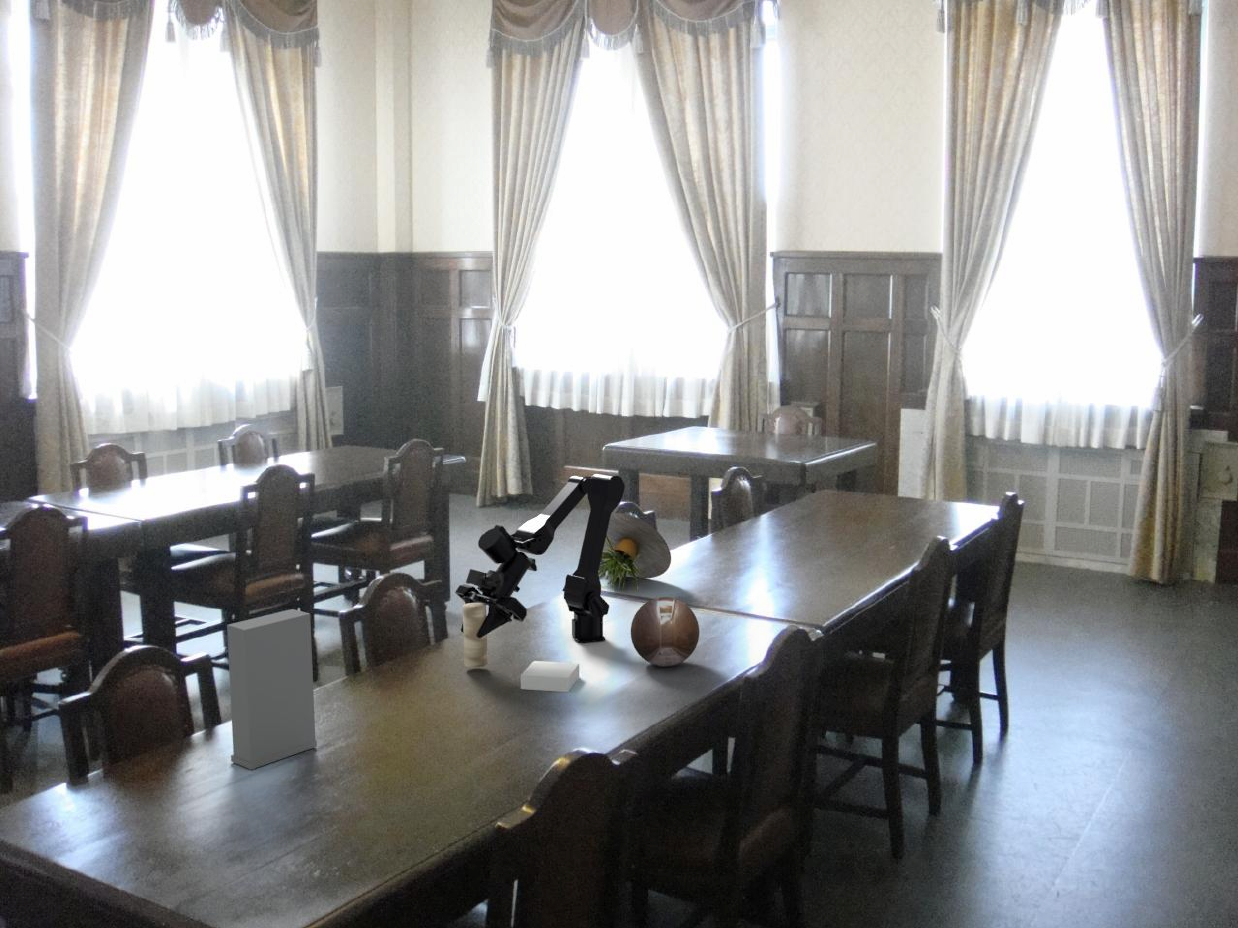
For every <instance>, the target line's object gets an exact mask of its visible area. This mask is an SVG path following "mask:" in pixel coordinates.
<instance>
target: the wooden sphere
mask: <svg viewBox="0 0 1238 928" xmlns="http://www.w3.org/2000/svg"><path fill="white" fill-rule="evenodd" d="M630 639H631V642H632V645H633V648H634V649H635V652H637V654H638V655H639V656H640V657H641V658H642V659H643V660H644V661H645V662H647V663H649V664H652V665H654V666H657V667H664V668H665V667H672V666H677V665H679V664H681V663H683V662H684V661H686V660H687V659H688V658H689V657H690V656H691V655H692V654H693V653H694V652H695V650H696V648H697V646H698V643H699V639H700V625H699V621H698V618H697V616H696V614H695V612H694V611H693V610H692V608H691V607H689V606H688V605H687V603H684V602H683V601H681V600H679V599H678V598H677V599H676V598H674V597H666V596H663V597H661V596H660V597H656V598H653V599H650V600H648V601H647V602H645V603H644V604H643V605H642V606H640V607H639V608H638V610H637V611H636V613H635V614H634V616H633V619H632V621H631V626H630Z"/></svg>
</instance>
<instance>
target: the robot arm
mask: <svg viewBox="0 0 1238 928" xmlns="http://www.w3.org/2000/svg"><path fill="white" fill-rule="evenodd" d="M625 484H626V483H625V482H624V481H623V478H622V477H621V476H619V475H614V474H609V473H603V472H597V473H594V474H593V475H592V476H585V475H583V476H582V475H573V476H571V477H569V479H568V480H567V483H566V484H565V485H564V487H562V489H561V490H560V491H559V493H557V494H556V496H555V497H554V498H553V499H552V500H551V502H550V503H548V504H547V506H545V508H544V509H543V511H542V512H540V514H539V515H538V516H537V515H536V517H533V518H531V519H529V520H528V521H526V522H524V523H523V524H522V525H521V526H520V527H519V528H517V529H516V530H515V532H513V533H510V534H509V532H508V531H507V529H506V528H505V527H504V526H503V525H500V524H495V525H494V527H493V528H490V529H487V531H485V532H484V533H483V534H481V536H480V537H479V539H478V542H477V544H478V548H479V549H480V550H481V551H482V553H484V554H485V555H486V556H487V557H488V558H489V559H490V560H491V561H492V562H493V563H494V564H498V565H499V566H498V567H497V568H496V570H492V569H489V570H488V571H487V572H484V571H480V570H476V569H472V568H470V569H469V571H468V574H467V578H466V581H465V583H466V584H464V583H463V584H459V586H458V587H457V588H456V590H455V594H456V595H457V596H458V597H459V598H460V599H461V600H462V601H463V602H464V603H465V604H468V603H484V604H486V606H488V608H487V609H488V612H487V614H486V618H485V620H484V622H483V623H482V625H481V627H480V629H479V631H478V633H477V635H476V636H477V637H478V638H482V637H483V636H485V635H487V636H488V635H489V634H490V633H491V632H493V631H495V630H496V629H498V628H500V627H501V626H503V625H506V624H507V623H511V622H512V621H513V620H515V621H518V622H521V623H523V622H524V620H525V619H526V617H528V609H527V607H525V606H524V605H523V604H522V603H521V602H520V600H518V599H517V598H516V597H514V596H512V595H513V594H514V592H515V593H519V591H520V590H521V588H520V587H519V585H520V582H521V581H522V579H523V578H524V576H525V574H526V573H528V571H532V572H537V571H538V567H537V564H536V558H532V557H529V556H528V555H527V554H531V555H534V556H539V555H540V556H541V555H544V554H545V553H546V552H547V550H548V549H549V547H550V546H551V544H552V543H553V541H554V540H555V539H554V538H555V532H556V531H557V529H558V527H559V526H560V525H561V524H562V523H563V522H564V520H565V519H566V518H567V517H568V516H569V515H570V513H572V511H573V510H574V509H575V508H576V507H577V505H578V504H579V503H580V502H581V501H582V500H583V498H584V497H585V496H586V495H587V497H586V498H587V500H588V505H589V509H590V511H589V515H588V520H587V525H586V528H585V529H586V530H585V533H584V536H583V540H582V541H583V542H582V546H581V551H580V555H579V559H578V564H577V568H576V570H574V572H573V573H572V574H566V576H565V583H564V586H563V589H562V592H563V600H564V601H565V603H566V605H567V608H568V611H569V612H573V618H572V619H571V637H572V638H574V639H575V640H576V641H577V642H578V643H590V642H600V641H602V642H603V641H606V637H605V636H604V629H603V628H604V616H605V615H608V613H609V609H610V605H609V604H608V602H607V601H606V600H605V599H604V598H603V597H602V596H601V593H602V584H601V579H600V577H599V575H600V574H599V573H598V571H600V568H599V566H601V564H600V563H602V562H601V561H602V559H601V557H602V553H603V548H604V544H605V539H606V535H607V530H608V526H609V521H610V517H611V513H614V512H615V510H616V509H617V508H618V506H619V505H620V504H621V501H622V498H623V496H624V493H625V488H626V485H625ZM469 584H471V585H469ZM472 585H474V586H472ZM475 586H477V587H475ZM465 604H464V605H465ZM512 618H513V619H512ZM461 624H462V625H461V628H460V632H461V633H462V634H464V632H463V623H461Z"/></svg>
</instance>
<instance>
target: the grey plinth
mask: <svg viewBox="0 0 1238 928" xmlns="http://www.w3.org/2000/svg"><path fill="white" fill-rule="evenodd" d="M579 678H580V663H577V662H576V663H575V662H564V661H563V662H559V661H545V660H544V661H541V660H533V661H532V662H531V663H530V664H529V666H527V667H526V669H525V670H524V671H523V672H522V673H521V674H520V689H521V690H529V691H545V692H559V693H560V692H562V693H569V691H570V690H571V688H572V687H574V685H575V684H576V682H578V680H579Z"/></svg>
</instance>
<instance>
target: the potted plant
mask: <svg viewBox="0 0 1238 928" xmlns="http://www.w3.org/2000/svg"><path fill="white" fill-rule="evenodd" d="M601 561H602V562H600V566H599V569H600V568H601V570H599V571H598V575H599V578H600V577H601V576H604V574H606V573H607V571H608V573H607V575H606V577H605V580H608V579H609V576H611V578H610V579H609V581H608V582H607V585H609V584H610V585H611V586H613V590H614V592H617V591H616V581H617V577H619V580H618V581H619V582H618V583H619V584H618V590H620V589H621V585H622V584H623V586H622V589H625V586H626V579H627V576H630V577H631V578H633V579H634V580H635V583H636V585H637V587H636V590H637V591H638V589H639V586H640V585H639V582H638V579H637V578H640V579H645V580H647V579H654V578H657V577H661V576H662V575H663V574H665V573H666V572H667V571H668V570H669V568H670V566H671V564H672V554H671V551H670V548H669V546H668V543H667V542H666V540H665V538H664V537H663V536H662V535H661V533H659V532H658V530H656V529H655V527H653V526H651V525H650V524H649V523H647V522H645V521H644V520H642V519H640V518H638V517H635V516H633V515H631V514H626V513H623V512H612V513H611V517H610V521H609V526H608V530H607V535H606V539H605V544H604V548H603V553H602V557H601ZM622 581H623V583H622Z"/></svg>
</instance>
